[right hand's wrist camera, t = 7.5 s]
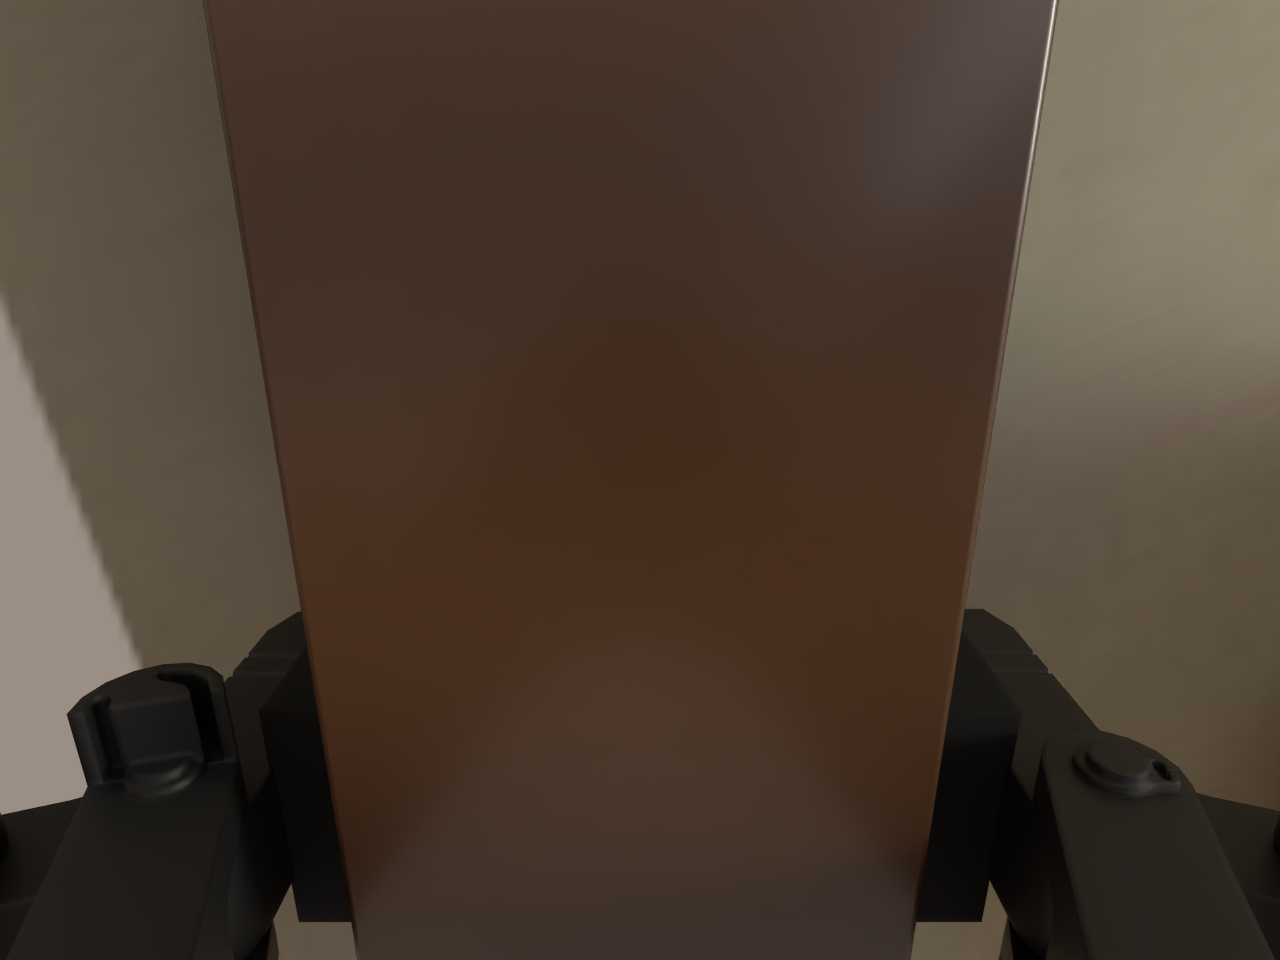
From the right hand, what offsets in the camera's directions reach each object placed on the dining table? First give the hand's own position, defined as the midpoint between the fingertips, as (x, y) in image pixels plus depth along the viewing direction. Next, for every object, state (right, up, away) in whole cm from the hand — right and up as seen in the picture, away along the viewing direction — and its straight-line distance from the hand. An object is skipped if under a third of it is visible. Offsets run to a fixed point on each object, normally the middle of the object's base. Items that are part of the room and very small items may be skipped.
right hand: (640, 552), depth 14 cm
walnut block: (0, +12, -4) cm, 12 cm away
